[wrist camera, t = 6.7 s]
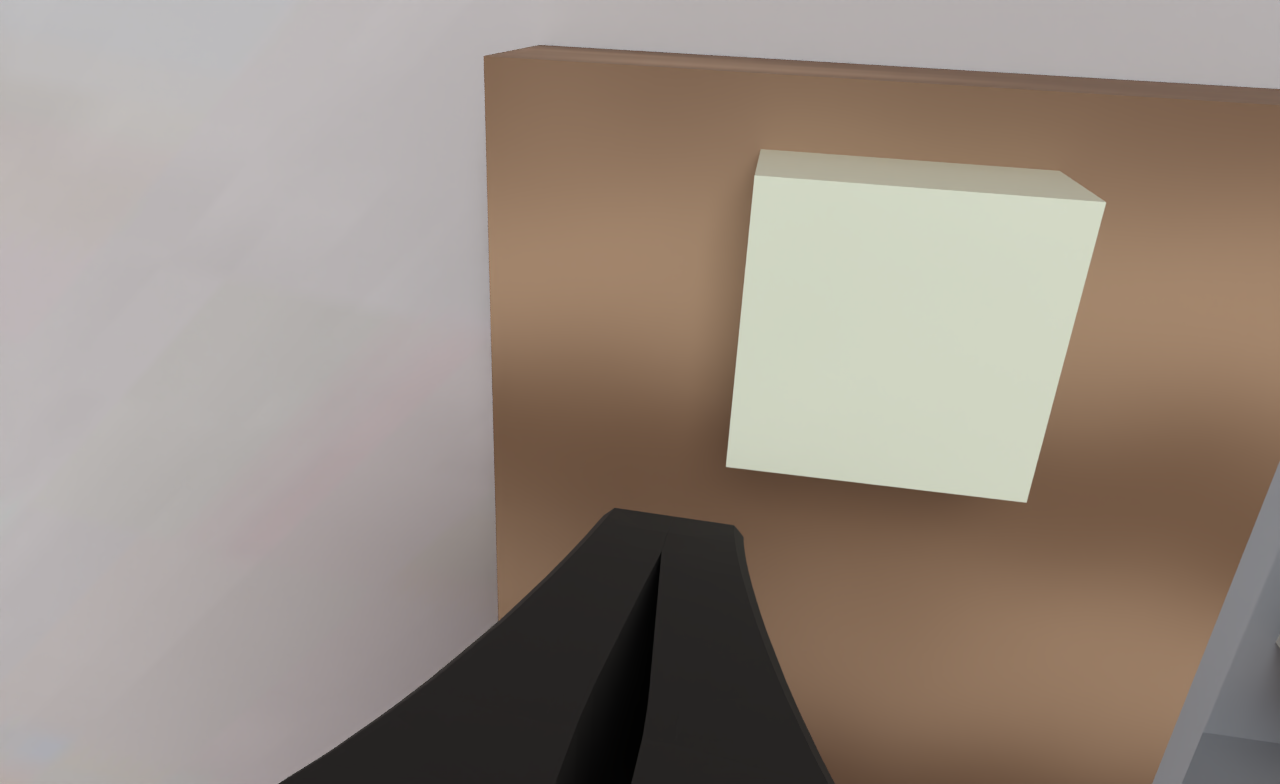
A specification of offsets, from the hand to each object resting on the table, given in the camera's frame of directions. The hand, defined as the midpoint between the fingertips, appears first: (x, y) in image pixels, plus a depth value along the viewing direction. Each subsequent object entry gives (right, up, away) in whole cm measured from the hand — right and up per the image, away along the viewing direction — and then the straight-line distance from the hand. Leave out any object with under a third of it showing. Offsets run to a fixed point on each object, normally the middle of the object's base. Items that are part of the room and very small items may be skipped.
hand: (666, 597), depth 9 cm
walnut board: (+4, +2, +8) cm, 9 cm away
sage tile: (+3, +3, +4) cm, 6 cm away
